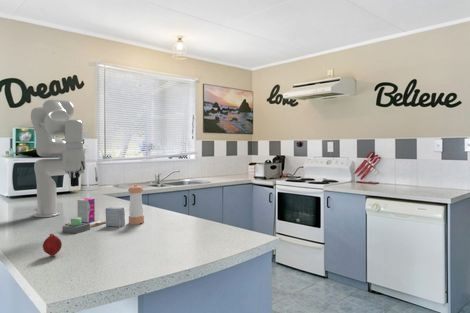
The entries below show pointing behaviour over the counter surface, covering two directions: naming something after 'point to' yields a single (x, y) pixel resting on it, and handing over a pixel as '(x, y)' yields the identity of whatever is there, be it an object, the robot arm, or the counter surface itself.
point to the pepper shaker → (136, 205)
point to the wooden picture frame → (93, 223)
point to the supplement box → (86, 210)
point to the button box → (75, 228)
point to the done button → (76, 222)
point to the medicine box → (115, 216)
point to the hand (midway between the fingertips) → (74, 186)
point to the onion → (52, 245)
